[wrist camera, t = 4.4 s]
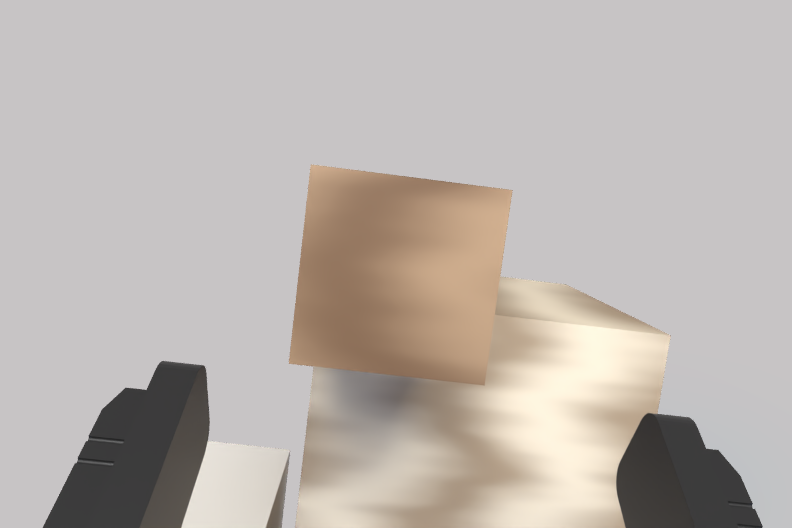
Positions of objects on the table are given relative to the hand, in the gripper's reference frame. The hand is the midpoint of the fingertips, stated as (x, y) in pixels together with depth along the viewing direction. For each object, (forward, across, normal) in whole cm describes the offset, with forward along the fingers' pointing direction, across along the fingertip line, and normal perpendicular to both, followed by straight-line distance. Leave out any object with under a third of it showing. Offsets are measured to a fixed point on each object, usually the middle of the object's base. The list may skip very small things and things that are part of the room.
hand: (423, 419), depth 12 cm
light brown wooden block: (+11, -1, -6) cm, 12 cm away
